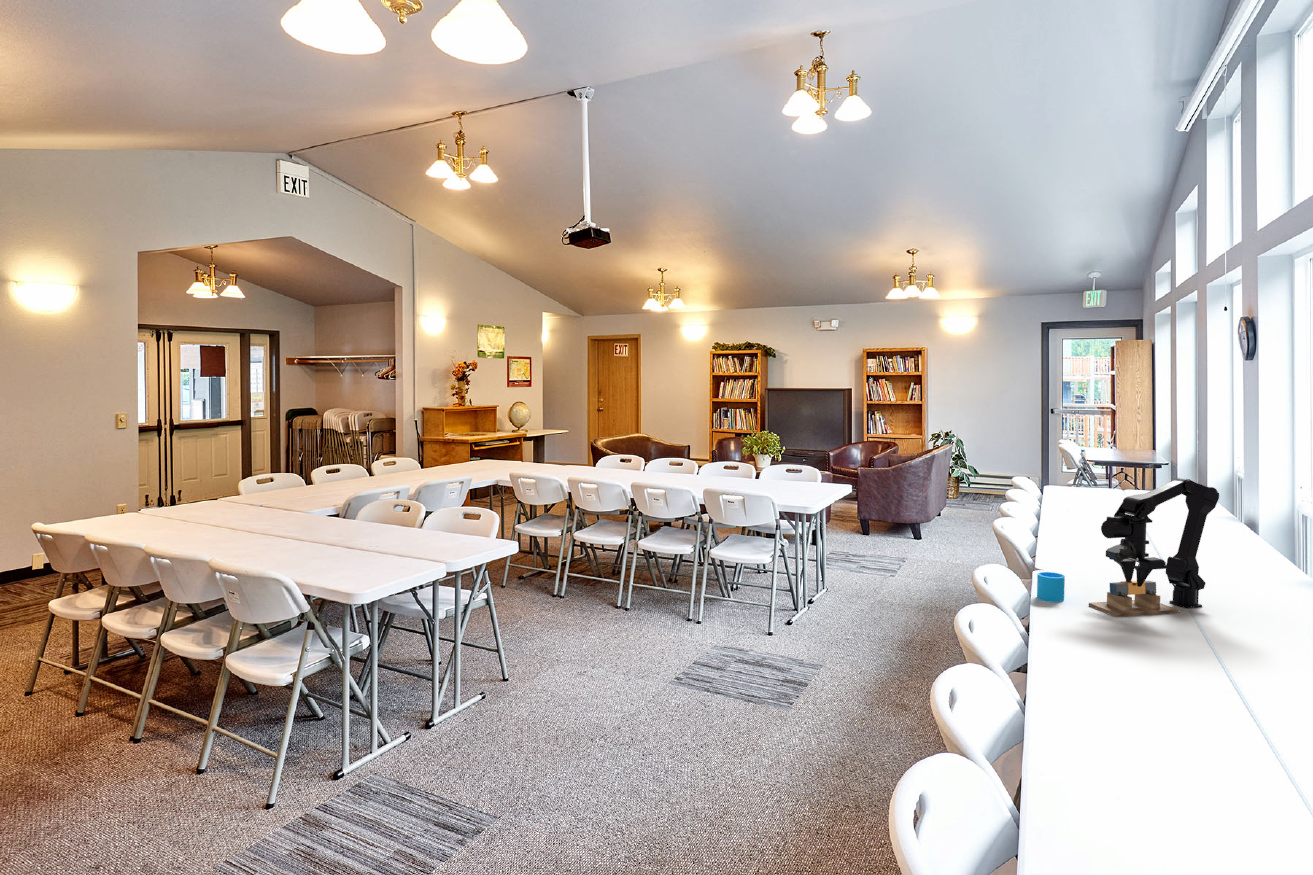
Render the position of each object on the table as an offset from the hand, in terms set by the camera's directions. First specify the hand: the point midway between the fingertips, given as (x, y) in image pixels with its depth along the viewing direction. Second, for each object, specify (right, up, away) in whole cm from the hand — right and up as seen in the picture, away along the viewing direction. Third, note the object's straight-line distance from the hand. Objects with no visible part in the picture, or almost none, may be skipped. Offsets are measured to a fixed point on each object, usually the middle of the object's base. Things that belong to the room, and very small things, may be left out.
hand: (1133, 584), depth 241 cm
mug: (-18, -8, +15) cm, 25 cm away
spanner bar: (0, -3, 0) cm, 3 cm away
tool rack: (0, -8, +1) cm, 8 cm away
